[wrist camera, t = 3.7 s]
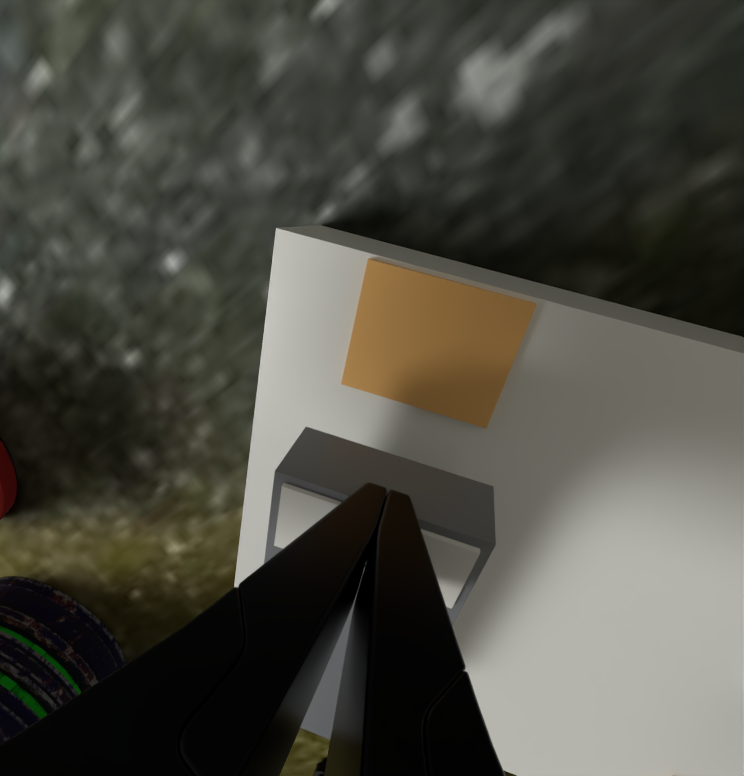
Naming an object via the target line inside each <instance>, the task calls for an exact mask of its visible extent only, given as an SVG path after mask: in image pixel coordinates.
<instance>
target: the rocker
mask: <svg viewBox="0 0 744 776" xmlns="http://www.w3.org/2000/svg"><path fill="white" fill-rule="evenodd" d="M367 482H371V483H374V484H377V485H380V486H383V487H385V488H386V489H387V494H388V492H389V490H395V491H398V492H401V493H404V494H407V495H409V496H410V498H411V501H412V504H413V507H414V510H415V513H416V516H417V519H418V522H419V525H420V528H421V531H422V534H423V537H424V540H425V543H426V547H427V550H428V553H429V556H430V559H431V562H432V565H433V568H434V571H435V574H436V577H437V580H438V583H439V586H440V589H441V592H442V595H443V598H444V601H445V604H446V607H447V610H448V614H449V617H450V620H451V623H452V626H453V624H454V622H455V620H456V618H457V617H458V615H459V613H460V611H461V609H462V607H463V605H464V603H465V602H466V600H467V598H468V596H469V594H470V592H471V590H472V588H473V587H474V585H475V583H476V581H477V579H478V577H479V575H480V574H481V572H482V570H483V568H484V566H485V564H486V562H487V560H488V559H489V557H490V555H491V553H492V551H493V549H494V547H495V545H496V537H495V512H494V487H493V486H491V485H488V484H484V483H481V482H478V481H475V480H472V479H469V478H466V477H463V476H459V475H456V474H453V473H450V472H447V471H444V470H441V469H438V468H434V467H431V466H428V465H425V464H422V463H419V462H416V461H413V460H409V459H406V458H403V457H400V456H397V455H394V454H391V453H387V452H384V451H381V450H378V449H375V448H372V447H369V446H366V445H362V444H359V443H356V442H353V441H350V440H347V439H344V438H341V437H337V436H334V435H331V434H328V433H325V432H322V431H319V430H316V429H312V428H309V427H305V428H304V430H303V431H302V433H301V434H300V436H299V437H298V438H297V440H296V441H295V443H294V444H293V446H292V447H291V448H290V450H289V451H288V453H287V454H286V456H285V457H284V458H283V460H282V461H281V463H280V464H279V466H278V467H277V468H276V470H275V473H274V482H273V491H272V499H271V508H270V516H269V525H268V533H267V542H266V551H265V559H264V564H265V563H266V562H267V561H268V560H270V559H271V558H272V557H273V556H275V555H276V554H277V553H278V552H280V551H281V550H282V549H283V548H285V547H286V546H287V545H288V544H290V543H291V542H292V541H294V540H295V539H296V538H297V537H299V536H300V535H301V534H302V533H304V532H305V531H306V530H307V529H309V528H310V527H311V526H312V525H314V524H315V523H316V522H317V521H319V520H320V519H321V518H322V517H324V516H325V515H326V514H327V513H329V512H330V511H331V510H333V509H334V508H335V507H336V506H338V505H339V504H340V503H341V502H343V501H344V500H345V499H346V498H348V497H349V496H350V495H351V494H353V493H354V492H355V491H356V490H358V489H359V488H360V487H361V486H363V485H364V484H365V483H367ZM387 494H386V496H387ZM385 499H386V498H385ZM384 503H385V502H384ZM383 506H384V505H383ZM381 513H382V512H381ZM380 516H381V515H380ZM378 523H379V522H378ZM367 559H368V558H367ZM364 569H365V568H364ZM363 572H364V571H363ZM361 579H362V578H361ZM360 582H361V581H360ZM358 589H359V588H358ZM357 592H358V591H357ZM356 596H357V594H356ZM355 600H356V597H355ZM355 600H354V603H355ZM354 603H353V606H352V608H351V611H350V613H349V616H348V618H347V621H346V623H345V625H344V628H343V630H342V632H341V635H340V637H339V639H338V641H337V644H336V646H335V648H334V651H333V653H332V655H331V658H330V660H329V662H328V664H327V667H326V669H325V671H324V674H323V676H322V678H321V681H320V683H319V685H318V687H317V690H316V692H315V694H314V697H313V699H312V701H311V704H310V706H309V708H308V711H307V713H306V715H305V717H304V720H303V722H302V724H301V727H300V728H302V729H305V730H307V731H310V732H312V733H315V734H317V735H320V736H322V737H325V738H327V739H331V733H332V727H333V722H334V716H335V710H336V704H337V698H338V693H339V687H340V681H341V675H342V670H343V664H344V658H345V652H346V646H347V641H348V635H349V629H350V623H351V618H352V613H353V608H354Z"/></svg>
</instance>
